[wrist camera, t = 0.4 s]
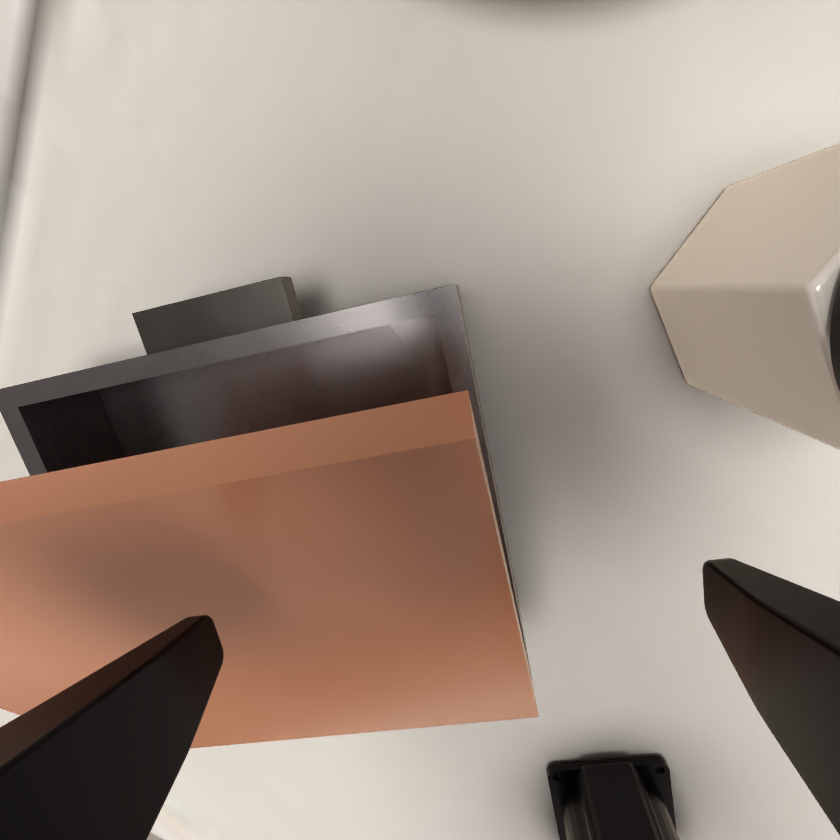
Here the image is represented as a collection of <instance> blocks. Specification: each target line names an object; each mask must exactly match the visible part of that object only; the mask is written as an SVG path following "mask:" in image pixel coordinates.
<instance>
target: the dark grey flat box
mask: <svg viewBox="0 0 840 840" xmlns="http://www.w3.org/2000/svg"><path fill="white" fill-rule="evenodd" d="M132 315H133V317H134V320H135V323H136V325H137V328H138V331H139V333H140V336H141V339H142V342H143V344H144V347H145V350H146V352H147V355H145V356H141V357H137V358H132V359H128V360H124V361H119V362H115V363H111V364H106V365H102V366H98V367H93V368H89V369H85V370H80V371H76V372H72V373H67V374H63V375H59V376H54V377H50V378H46V379H41V380H37V381H33V382H28V383H24V384H20V385H15V386H11V387H7V388H2V389H0V412H1V414H2V416H3V418H4V420H5V422H6V425H7V427H8V429H9V431H10V433H11V435H12V438H13V440H14V442H15V444H16V446H17V448H18V450H19V453H20V455H21V457H22V459H23V461H24V463H25V466H26V468H27V470H28V472H29V474H30V476H33V475H38V474H43V473H48V472H54V471H59V470H64V469H69V468H74V467H79V466H84V465H89V464H94V463H99V462H104V461H110V460H115V459H120V458H125V457H130V456H135V455H140V454H145V453H150V452H155V451H160V450H166V449H171V448H176V447H181V446H186V445H191V444H196V443H201V442H206V441H211V440H216V439H222V438H227V437H232V436H237V435H242V434H247V433H252V432H257V431H262V430H267V429H272V428H278V427H283V426H288V425H293V424H298V423H303V422H308V421H313V420H318V419H323V418H329V417H334V416H339V415H344V414H349V413H354V412H359V411H364V410H369V409H374V408H379V407H385V406H390V405H395V404H400V403H405V402H410V401H415V400H420V399H425V398H430V397H435V396H441V395H446V394H451V393H456V392H461V391H466V390H468V393H469V397H470V402H471V406H472V411H473V415H474V420H475V424H476V429H477V434H478V438H479V443H480V447H481V452H482V456H483V461H484V465H485V470H486V474H487V479H488V483H489V488H490V492H491V497H492V502H493V506H494V511H495V515H496V520H497V524H498V529H499V533H500V538H501V542H502V547H503V551H504V556H505V561H506V565H507V570H508V574H509V579H510V583H511V588H512V592H513V597H514V601H515V606H516V610H517V615H518V619H519V624H520V629H521V633H522V638H523V642H524V647H525V651H526V656H527V660H528V654H527V648H526V642H525V637H524V631H523V625H522V619H521V613H520V608H519V602H518V597H517V591H516V586H515V581H514V576H513V571H512V565H511V560H510V555H509V550H508V545H507V540H506V534H505V529H504V524H503V519H502V514H501V509H500V503H499V498H498V493H497V488H496V483H495V477H494V472H493V467H492V462H491V457H490V452H489V446H488V441H487V436H486V431H485V426H484V421H483V415H482V410H481V405H480V400H479V395H478V390H477V384H476V379H475V374H474V369H473V364H472V358H471V353H470V348H469V343H468V338H467V333H466V327H465V322H464V317H463V312H462V307H461V302H460V296H459V291H458V286H457V285H456V284H452V285H448V286H444V287H439V288H435V289H431V290H426V291H422V292H418V293H413V294H409V295H405V296H401V297H396V298H392V299H388V300H383V301H379V302H375V303H370V304H366V305H362V306H357V307H353V308H349V309H344V310H340V311H336V312H331V313H327V314H323V315H318V316H314V317H310V318H305V319H302V315H301V312H300V308H299V305H298V301H297V297H296V294H295V290H294V287H293V283H292V279H291V277H278V278H274V279H270V280H265V281H261V282H257V283H253V284H249V285H245V286H241V287H237V288H233V289H229V290H225V291H221V292H217V293H213V294H209V295H205V296H201V297H197V298H193V299H189V300H185V301H181V302H176V303H172V304H168V305H164V306H160V307H156V308H152V309H148V310H144V311H140V312H136V313H132ZM528 665H529V660H528ZM529 669H530V666H529ZM530 674H531V671H530ZM531 678H532V677H531Z"/></svg>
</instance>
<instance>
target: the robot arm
mask: <svg viewBox="0 0 840 840" xmlns="http://www.w3.org/2000/svg"><path fill="white" fill-rule="evenodd" d="M703 587H704V604H705V609H706V613H707V615H708V618H709V620H710V622H711V624H712V626H713V628H714V630H715V631H716V633H717V635H718V637H719V639H720V641H721V643H722V645H723V647H724V648H725V650H726V652H727V654H728V656H729V658H730V660H731V662H732V664H733V666H734V667H735V669H736V671H737V673H738V675H739V677H740V679H741V681H742V683H743V684H744V686H745V688H746V690H747V692H748V694H749V696H750V698H751V699H752V701H753V703H754V705H755V707H756V708H757V710H758V712H759V713H760V715H761V716H762V718H763V720H764V721H765V723H766V724H767V726H768V727H769V729H770V730H771V732H772V733H773V735H774V737H775V738H776V740H777V741H778V743H779V744H780V746H781V747H782V749H783V750H784V752H785V753H786V755H787V756H788V758H789V759H790V761H791V762H792V764H793V765H794V767H795V768H796V770H797V771H798V773H799V774H800V776H801V777H802V779H803V780H804V782H805V783H806V785H807V786H808V788H809V789H810V791H811V793H812V794H813V796H814V797H815V799H816V800H817V802H818V803H819V805H820V806H821V808H822V809H823V811H824V812H825V814H826V815H827V817H828V818H829V820H830V821H831V823H832V824H833V826H834V827H835V829H836V830H837V832H838V833H839V835H840V602H839V601H837V600H834V599H832V598H829V597H827V596H824V595H822V594H820V593H817V592H815V591H812V590H810V589H807V588H805V587H802V586H800V585H797V584H795V583H792V582H790V581H787V580H785V579H782V578H780V577H777V576H775V575H772V574H770V573H767V572H765V571H762V570H760V569H757V568H755V567H752V566H750V565H747V564H745V563H742V562H740V561H737V560H735V559H732V558H725V559H716V560H708V561H706V562H705V563H704V565H703ZM223 659H224V652H223V647H222V644H221V641H220V638H219V636H218V633H217V630H216V627H215V624H214V621H213V619H212V618H211V617H210V616H208V615H199V616H190V617H187V618H185V619H183V620H181V621H180V622H178V623H176V624H175V625H173V626H171V627H170V628H168V629H166V630H165V631H163V632H161V633H159V634H158V635H156V636H154V637H153V638H151V639H149V640H148V641H146V642H144V643H143V644H141V645H139V646H137V647H136V648H134V649H132V650H131V651H129V652H127V653H126V654H124V655H122V656H121V657H119V658H117V659H116V660H114V661H112V662H110V663H109V664H107V665H105V666H104V667H102V668H100V669H99V670H97V671H95V672H94V673H92V674H90V675H88V676H87V677H85V678H83V679H82V680H80V681H78V682H77V683H75V684H73V685H72V686H70V687H68V688H66V689H65V690H63V691H61V692H60V693H58V694H56V695H55V696H53V697H51V698H50V699H48V700H46V701H44V702H43V703H41V704H39V705H38V706H36V707H34V708H33V709H31V710H29V711H28V712H26V713H24V714H22V715H21V716H19V717H17V718H16V719H14V720H12V721H11V722H9V723H7V724H6V725H4V726H2V727H0V840H147V838H148V835H149V833H150V831H151V829H152V827H153V825H154V823H155V821H156V819H157V817H158V815H159V813H160V810H161V808H162V806H163V804H164V802H165V800H166V798H167V796H168V794H169V792H170V790H171V787H172V785H173V783H174V781H175V779H176V777H177V775H178V773H179V771H180V769H181V767H182V764H183V762H184V760H185V758H186V756H187V754H188V751H189V749H190V747H191V745H192V742H193V740H194V737H195V735H196V732H197V730H198V727H199V724H200V722H201V719H202V717H203V714H204V711H205V709H206V706H207V703H208V701H209V698H210V696H211V693H212V690H213V688H214V685H215V682H216V680H217V677H218V674H219V672H220V669H221V667H222V663H223ZM547 776H548V781H549V786H550V791H551V797H552V802H553V807H554V812H555V817H556V822H557V827H558V832H559V837H560V840H679V838H678V835H677V832H676V826H675V817H674V808H673V798H672V789H671V780H670V771H669V768H668V765H667V763H666V761H665V759H664V758H662V757H658V756H654V757H641V758H628V759H614V760H601V761H588V762H575V763H561V764H552V765H550V766H548V768H547Z"/></svg>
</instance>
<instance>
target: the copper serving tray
mask: <svg viewBox="0 0 840 840" xmlns="http://www.w3.org/2000/svg"><path fill="white" fill-rule="evenodd" d="M199 615H208V616H210V617H211V618H212V619H213V621H214V624H215V627H216V630H217V633H218V636H219V638H220V641H221V644H222V647H223V652H224V659H223V663H222V667H221V669H220V672H219V674H218V677H217V680H216V682H215V685H214V688H213V690H212V693H211V696H210V698H209V701H208V703H207V706H206V709H205V711H204V714H203V717H202V719H201V722H200V724H199V727H198V730H197V732H196V735H195V737H194V740H193V742H192V745H191V747H190V748H199V747H211V746H222V745H233V744H244V743H255V742H266V741H277V740H288V739H299V738H310V737H321V736H332V735H343V734H354V733H365V732H377V731H388V730H399V729H410V728H421V727H432V726H443V725H454V724H465V723H476V722H487V721H498V720H509V719H520V718H531V717H539V716H538V711H537V705H536V700H535V694H534V688H533V683H532V678H531V674H530V669H529V665H528V660H527V656H526V651H525V647H524V642H523V638H522V633H521V629H520V624H519V619H518V615H517V610H516V606H515V601H514V597H513V592H512V588H511V583H510V579H509V574H508V570H507V565H506V561H505V556H504V551H503V547H502V542H501V538H500V533H499V529H498V524H497V520H496V515H495V511H494V506H493V502H492V497H491V492H490V488H489V483H488V479H487V474H486V470H485V465H484V461H483V456H482V452H481V447H480V443H479V438H478V434H477V429H476V424H475V420H474V415H473V411H472V406H471V402H470V397H469V393H468V390H466V391H461V392H456V393H451V394H446V395H441V396H435V397H430V398H425V399H420V400H415V401H410V402H405V403H400V404H395V405H390V406H385V407H379V408H374V409H369V410H364V411H359V412H354V413H349V414H344V415H339V416H334V417H329V418H323V419H318V420H313V421H308V422H303V423H298V424H293V425H288V426H283V427H278V428H272V429H267V430H262V431H257V432H252V433H247V434H242V435H237V436H232V437H227V438H222V439H216V440H211V441H206V442H201V443H196V444H191V445H186V446H181V447H176V448H171V449H166V450H160V451H155V452H150V453H145V454H140V455H135V456H130V457H125V458H120V459H115V460H110V461H104V462H99V463H94V464H89V465H84V466H79V467H74V468H69V469H64V470H59V471H54V472H48V473H43V474H38V475H33V476H28V477H23V478H18V479H13V480H8V481H3V482H0V708H1V709H4V710H7V711H10V712H13V713H16V714H19V715H22V714H24V713H26V712H28V711H29V710H31V709H33V708H34V707H36V706H38V705H39V704H41V703H43V702H44V701H46V700H48V699H50V698H51V697H53V696H55V695H56V694H58V693H60V692H61V691H63V690H65V689H66V688H68V687H70V686H72V685H73V684H75V683H77V682H78V681H80V680H82V679H83V678H85V677H87V676H88V675H90V674H92V673H94V672H95V671H97V670H99V669H100V668H102V667H104V666H105V665H107V664H109V663H110V662H112V661H114V660H116V659H117V658H119V657H121V656H122V655H124V654H126V653H127V652H129V651H131V650H132V649H134V648H136V647H137V646H139V645H141V644H143V643H144V642H146V641H148V640H149V639H151V638H153V637H154V636H156V635H158V634H159V633H161V632H163V631H165V630H166V629H168V628H170V627H171V626H173V625H175V624H176V623H178V622H180V621H181V620H183V619H185V618H187V617H190V616H199Z"/></svg>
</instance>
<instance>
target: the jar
mask: <svg viewBox="0 0 840 840" xmlns="http://www.w3.org/2000/svg"><path fill="white" fill-rule="evenodd" d="M651 293H652V295H653V298H654V301H655V303H656V306H657V308H658V311H659V313H660V316H661V319H662V321H663V324H664V326H665V329H666V331H667V334H668V337H669V339H670V342H671V344H672V347H673V349H674V352H675V355H676V357H677V360H678V362H679V365H680V367H681V370H682V373H683V375H684V378H685V380H686V382H687V383H688V384H689V385H691V386H693V387H695V388H698V389H700V390H702V391H705V392H707V393H709V394H712V395H714V396H716V397H718V398H721V399H723V400H725V401H728V402H730V403H732V404H735V405H737V406H739V407H742V408H744V409H746V410H748V411H751V412H753V413H755V414H758V415H760V416H762V417H765V418H767V419H769V420H772V421H774V422H776V423H779V424H781V425H783V426H785V427H788V428H790V429H792V430H795V431H797V432H799V433H802V434H804V435H806V436H809V437H811V438H813V439H815V440H818V441H820V442H822V443H825V444H827V445H829V446H832V447H834V448H836V449H838V450H840V143H837V144H835V145H832V146H830V147H827V148H824V149H822V150H819V151H817V152H814V153H811V154H809V155H806V156H804V157H801V158H798V159H796V160H793V161H791V162H788V163H786V164H783V165H780V166H778V167H775V168H773V169H770V170H767V171H765V172H762V173H760V174H757V175H754V176H752V177H749V178H747V179H744V180H741V181H739V182H736V183H734V184H731V185H729V186H728V187H727V188H726V189H725V190H724V192H723V193H722V194H721V195H720V197H719V198H718V199H717V201H716V202H715V203H714V205H713V206H712V207H711V208H710V210H709V211H708V212H707V214H706V215H705V216H704V218H703V219H702V220H701V221H700V223H699V224H698V225H697V227H696V228H695V229H694V231H693V232H692V233H691V234H690V236H689V237H688V238H687V240H686V241H685V242H684V244H683V245H682V246H681V247H680V249H679V250H678V251H677V253H676V254H675V255H674V257H673V258H672V259H671V260H670V262H669V263H668V264H667V266H666V267H665V268H664V270H663V271H662V272H661V273H660V275H659V276H658V277H657V279H656V280H655V281H654V283H653V284H652V285H651Z"/></svg>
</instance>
